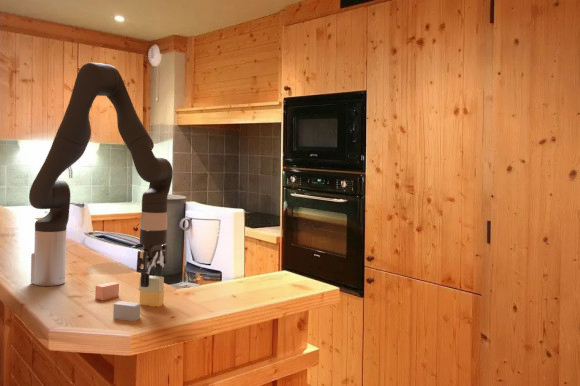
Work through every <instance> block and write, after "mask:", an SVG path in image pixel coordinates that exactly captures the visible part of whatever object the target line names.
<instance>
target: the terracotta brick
mask: <svg viewBox="0 0 580 386" xmlns="http://www.w3.org/2000/svg"><path fill="white" fill-rule="evenodd" d="M119 292H120V283H118V282H114V281H111V282H106V283H100V284H97V285H95V297H94V298H95V299H96V300H100V301H104V300H105V301H106V300H109V299H112V298H117V297H119V295H120V294H119Z"/></svg>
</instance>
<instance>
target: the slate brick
mask: <svg viewBox="0 0 580 386" xmlns="http://www.w3.org/2000/svg"><path fill="white" fill-rule="evenodd" d="M140 304H141V303H140V302H134V301H133V302H130V301H122V300H118V301H117V302H115V303H113V310H112V311H113V312H112V313H113V319H114V320H122V321H130V322H136V321H137V320H139V319H140V318H141V305H140Z"/></svg>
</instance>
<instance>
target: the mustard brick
mask: <svg viewBox="0 0 580 386" xmlns="http://www.w3.org/2000/svg"><path fill="white" fill-rule="evenodd" d="M164 301H165V290H163V291H162V292H160V293H154V292H145V291H139V303H141V304H140V306H147V305H149V307H155V306H160V307H162V306H163V305H164V304H165V303H164ZM162 304H163V305H162Z"/></svg>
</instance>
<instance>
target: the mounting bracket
mask: <svg viewBox="0 0 580 386" xmlns="http://www.w3.org/2000/svg"><path fill="white" fill-rule="evenodd" d="M178 286H181V287H182V288H196V287H199V286H201V284H199V283H194V282H188V281H187V282H183V283H180V284H178Z"/></svg>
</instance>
